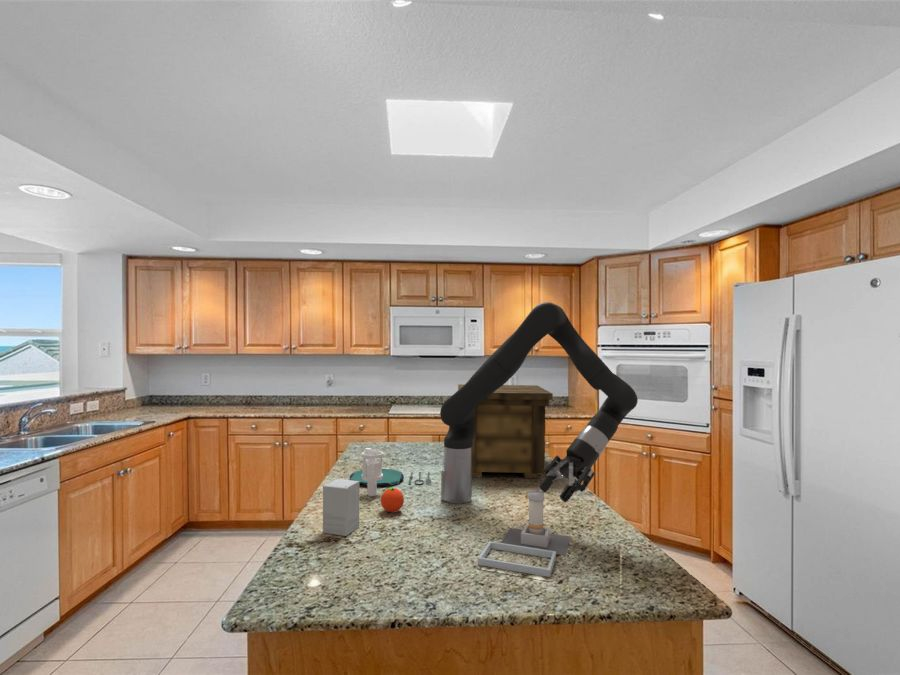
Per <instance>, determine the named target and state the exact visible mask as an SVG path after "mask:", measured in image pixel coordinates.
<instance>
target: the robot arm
mask: <svg viewBox="0 0 900 675" xmlns="http://www.w3.org/2000/svg"><path fill="white" fill-rule="evenodd" d="M547 335H549V336H550V337H551V338H552V339H553V340H555V341H556V343H557V344H559V345H560V346H561V348H562V349H563V350H564V351H565V353H566V354H567V355H568V357H569V359H570V360H571V363H572V364H573V366H575V368H576V370H577V371H578V372H579V374H580V375H581V376H582V377H583V379H584V380H585V381H586V382H587V383H588V384H589V385H590V387H592V388H593V389H594V390H596V391H601V392H602V393H603V394H604V395H605V396H606V397H607V398H606V399H605V400H604V401H603V403H602V404H601V406H600V408H599V409H598V410H597V412H596V413H595V414H593V417H592V418H591V419H590V420H589V421H588V423H587V424H586V425H585V427H584V428H583V429H582V430H580V431H579V433H578V434H577V436H576V437H575V439H574V440H573V441H572V443H571V444H570V445H569V446H568V448H567V449H566V456H565V457H564V458H561V457H560V456H559V455H555V456H554V458H553V459H552V460H551V461H550V462H549V464H548V465H547V466H546V468H544V475H546V476H545V478H544V479H543V481H542V482H541V483H540V486H539V489H540V491H541V492H544V493H547V492H548V491H549V489H550V488H551V486H552V485H553V483H554V482H555V481H557V480H561V479H564V478H565V479H568V480H569V481H568V485H566V486H565V488H564V489H563V491H562V492H561V493H560V495H559V499H560V500H561V501H562V502H564V503H567V502H568V501H569V500H570V499H571V498H572V496H573V495H574V493H575V492H578V491H580V492H585V490H586V488H587V487H588V485H589V484H590V483H591V480H592V479H593V478H594V476H595V475H596V474H595V472H594V471H593V470H592V467H593V466H594V465H595V463H596V462H597V460H599V457H600V456H601V455H602V453H603V452H604V451H605V449H606V447H607V445H608V443H609V442H610V441H611V439H612V438H613V437H614V435H615V434H616V432H617V430H618V428H619V426H620V424H621V423H622V422H623V420H624V419H625V417H626V416H627V415H628V414H629V413H630V412H631V411H633V409H636V407H637V404H638V401H639V400H638V396H637V393H636V391H635V390H634V389H633V387H632V386H631V385H630V384H629V383H627V382H626V381H625V380H624V379H622V378H621V377H619V376H618V375H617V374H615V373H613V371H612V370H611V369H610V367H608V365H607V364H606V363H605V362H604V361H603V360H602V359H601V358H600V357H599V356H598V354H596V352H595V351H594V350H593V349H592V348H591V347H590V346H589V345H588V344H587V342H586V341H585V340H584V339H583V337H582V336H580V334H579V332H577V330H576V328H575V327H574V326H573V324H572V322H571V321H570V319H569V318H568V316H567V314H566V312H565V311H564V309H563V308H562V307H561V306H559V305H558V304H555V303H552V302H549V301H545V302H540V303H538V304H536V305H535V306H534V307H533V308H532V310H531V311H529V313H528V315H527V316H526V317H525V318H524V320H523V321H522V322H521V324H520V325H519V326H518V327H517V329H516V330H515V331H514V332H513V333H511V335H510V336H509V337H507V339H505V341H504V342H503V343H502V344H501V345H500V346H498V348H497V349H495V351H494V352H493V353H491V355H490V356H489V357H488V358H487V359H486V360H484V362H483V363H482V365H481V366H480V367H479V368H478V369H477V370H476V371H475V372H474V373H473V374H472V376H471V377H470V378H469V379H468V381H467V382H466V383H465V385H464V386H463V387H462V388H461V389H459V390H458V389H457V391H456V392H454V394H452V395H451V396H449V397H448V398H447V399H446V400H445V401H444V402H443V403H442V405H441V408H440V414H439V415H440V416H439V417H440V419H441V422H442V423H443V424H445V425H446V426H448V431H447V433H446V435H445V436H444V439H443V469H442V470H441V472H440V473H441V474H440V476H441V479H440V480H441V483H440V486H441V488H440V489H441V491H440V493H441V494H440V500H441V501H445V502H447V503H451V504H465V503H469V502H471V501H472V489H473V487H472V486H473V484H472V483H473V479H472V478H473V477H472V441H473V438H474V434H475V406H476V405H477V404H478V403H479V402H480V401H481V400H483V399H484V398H485V397H487V396H488V395H490V394H491V393H493V392H494V391H496V390H497V389H498V388H500V387H501V386H502V385H506V383H507V382H508V381H509V380H510V379H512V377H513V376H514V375H515V374H516V373H517V372H518V371H519V369H520V368H521V366H522V365H523V363H524V362H525V360H526V359H527V356H528V354H529V353H530V351H531V350H532V349H533V348H534V347H535V346H536V345H537V344H538V343H539V342H540V341H541V340H542V339H544V338H545V337H546V336H547ZM551 469H552V470H551ZM582 482H583V483H582Z"/></svg>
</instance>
